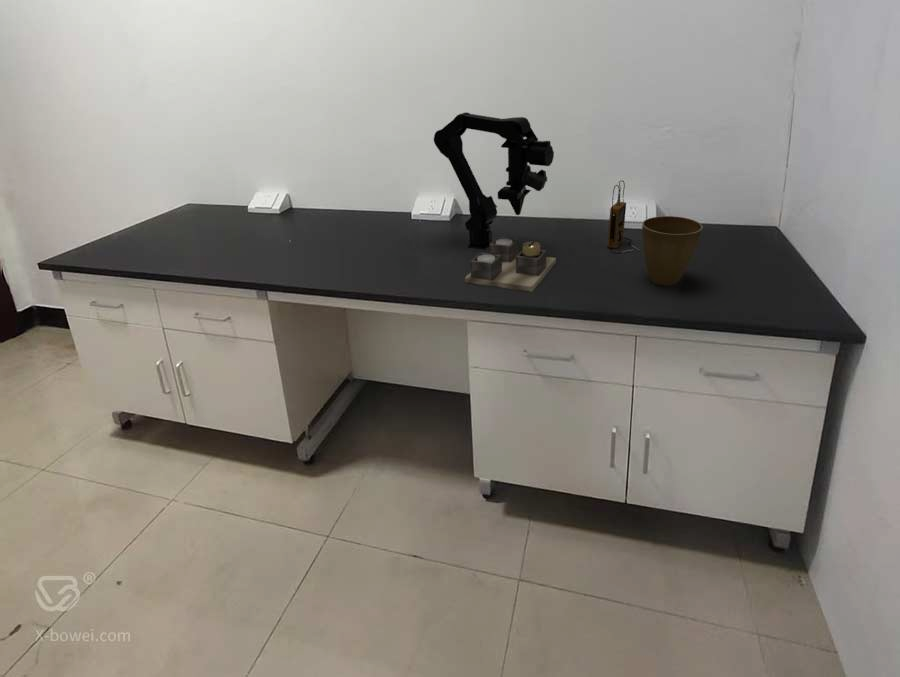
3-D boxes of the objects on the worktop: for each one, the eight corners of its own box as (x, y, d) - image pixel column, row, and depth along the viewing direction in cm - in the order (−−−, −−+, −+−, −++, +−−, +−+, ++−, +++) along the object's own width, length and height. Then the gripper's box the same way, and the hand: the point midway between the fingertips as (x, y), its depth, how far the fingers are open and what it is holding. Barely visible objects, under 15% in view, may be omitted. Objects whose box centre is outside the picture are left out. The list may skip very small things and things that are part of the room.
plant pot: (662, 296, 155) (669, 237, 147) (625, 276, 167) (630, 221, 159) (706, 284, 160) (715, 226, 152) (667, 266, 172) (674, 212, 164)
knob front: (475, 276, 170) (474, 259, 167) (482, 269, 174) (481, 253, 171) (491, 278, 168) (490, 261, 165) (497, 271, 172) (497, 255, 169)
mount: (465, 282, 170) (464, 261, 167) (494, 255, 187) (493, 235, 184) (531, 291, 162) (532, 269, 159) (555, 262, 179) (556, 242, 176)
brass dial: (520, 263, 169) (519, 245, 167) (525, 257, 173) (525, 239, 171) (536, 265, 167) (537, 247, 165) (542, 259, 171) (542, 241, 169)
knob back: (493, 258, 181) (493, 243, 178) (499, 253, 184) (499, 237, 182) (509, 260, 178) (508, 245, 176) (514, 255, 182) (514, 239, 180)
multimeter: (635, 256, 180) (641, 191, 170) (603, 252, 185) (607, 188, 175) (649, 241, 190) (655, 178, 181) (618, 237, 195) (623, 175, 186)
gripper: (533, 172, 165) (533, 226, 173) (553, 157, 180) (552, 207, 187) (496, 170, 170) (497, 223, 177) (518, 155, 184) (519, 205, 192)
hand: (518, 214), depth 183 cm, fingers closed
